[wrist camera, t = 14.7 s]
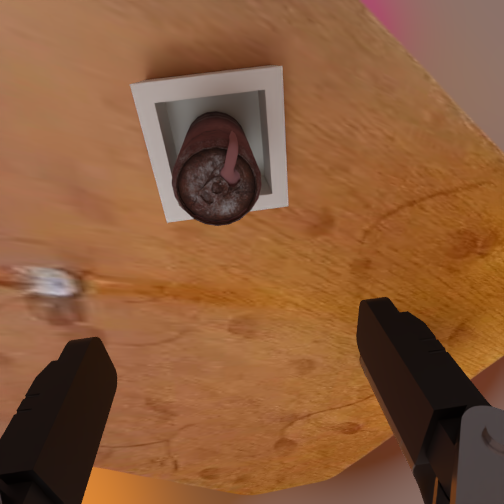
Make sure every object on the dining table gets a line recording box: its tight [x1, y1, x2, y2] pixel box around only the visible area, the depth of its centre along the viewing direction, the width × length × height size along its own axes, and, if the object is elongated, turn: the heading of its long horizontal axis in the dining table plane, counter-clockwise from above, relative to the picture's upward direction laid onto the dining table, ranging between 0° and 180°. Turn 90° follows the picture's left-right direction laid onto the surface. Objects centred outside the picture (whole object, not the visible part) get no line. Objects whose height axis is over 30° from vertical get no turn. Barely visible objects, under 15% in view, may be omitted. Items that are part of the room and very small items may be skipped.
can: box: [172, 111, 262, 226], centre depth 27 cm, size 6×6×14 cm
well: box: [130, 65, 288, 222], centre depth 31 cm, size 12×12×6 cm
